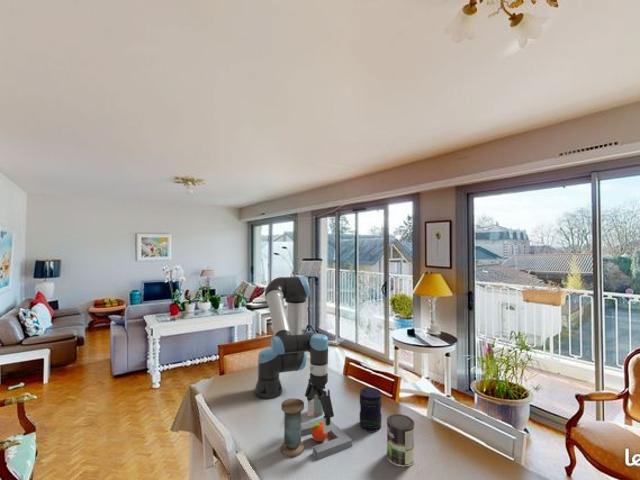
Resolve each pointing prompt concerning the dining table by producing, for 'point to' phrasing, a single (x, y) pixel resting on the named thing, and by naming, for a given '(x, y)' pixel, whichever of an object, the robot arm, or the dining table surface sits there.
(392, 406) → the dining table surface
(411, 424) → the coffee can
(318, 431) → the clementine
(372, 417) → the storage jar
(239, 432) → the dining table surface
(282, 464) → the dining table surface
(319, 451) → the notched board
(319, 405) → the coffee cup
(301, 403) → the bobbin
